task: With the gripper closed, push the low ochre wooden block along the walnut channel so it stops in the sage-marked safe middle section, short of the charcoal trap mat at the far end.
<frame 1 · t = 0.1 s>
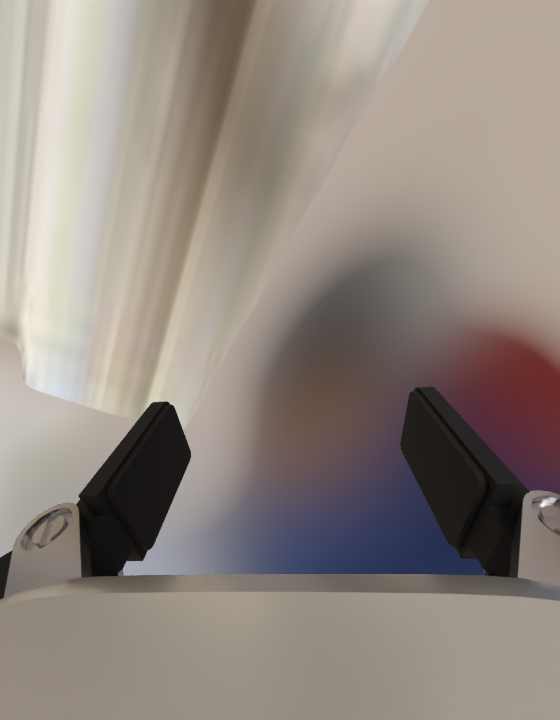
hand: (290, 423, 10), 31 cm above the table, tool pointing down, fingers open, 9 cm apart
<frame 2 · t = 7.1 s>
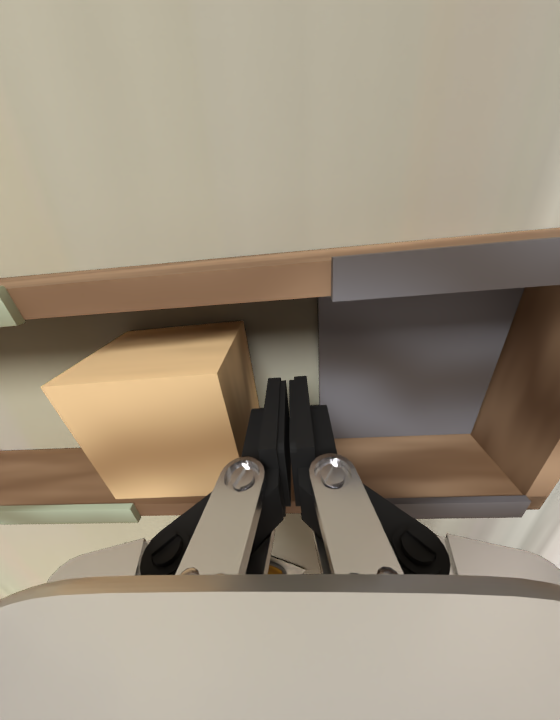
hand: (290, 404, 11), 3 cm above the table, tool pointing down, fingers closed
block: (199, 376, 14), resting in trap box, touching gripper
condiment: (249, 566, 24), on the table
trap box: (91, 383, 14), on the table
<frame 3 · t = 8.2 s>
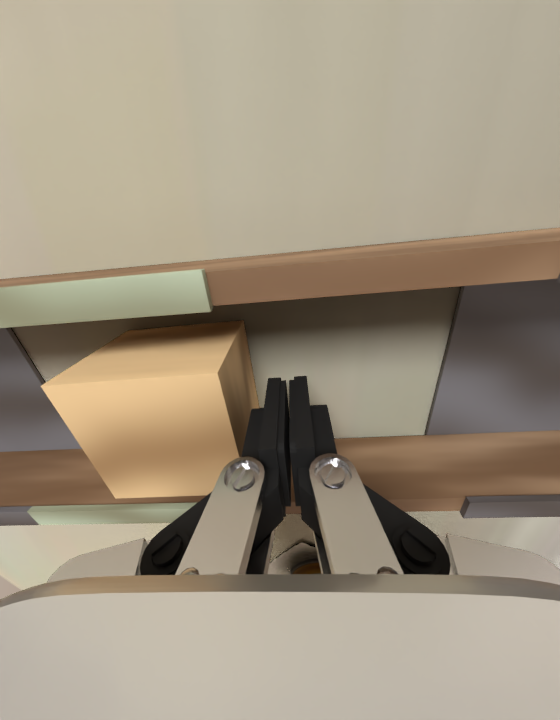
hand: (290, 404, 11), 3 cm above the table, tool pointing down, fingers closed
block: (199, 376, 14), resting in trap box, touching gripper
condiment: (315, 566, 24), on the table
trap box: (198, 378, 14), on the table
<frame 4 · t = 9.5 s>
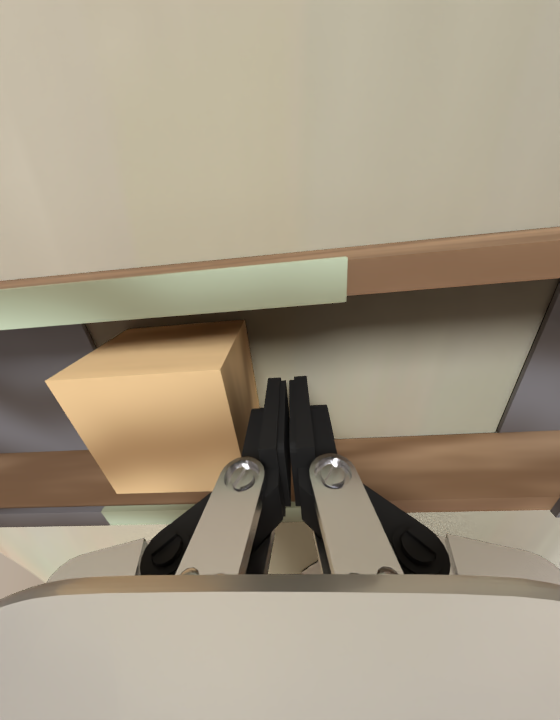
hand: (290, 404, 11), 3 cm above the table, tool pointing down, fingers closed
block: (201, 374, 14), resting in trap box
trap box: (271, 374, 13), on the table
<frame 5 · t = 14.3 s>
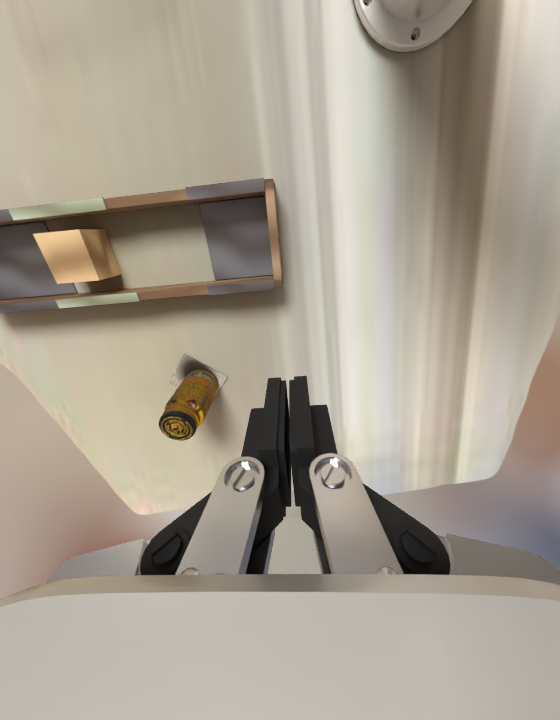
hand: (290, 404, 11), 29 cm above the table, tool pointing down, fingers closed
block: (94, 254, 36), resting in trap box
condiment: (198, 378, 46), on the table
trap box: (120, 253, 36), on the table
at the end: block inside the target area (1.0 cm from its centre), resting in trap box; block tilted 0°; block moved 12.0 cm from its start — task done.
